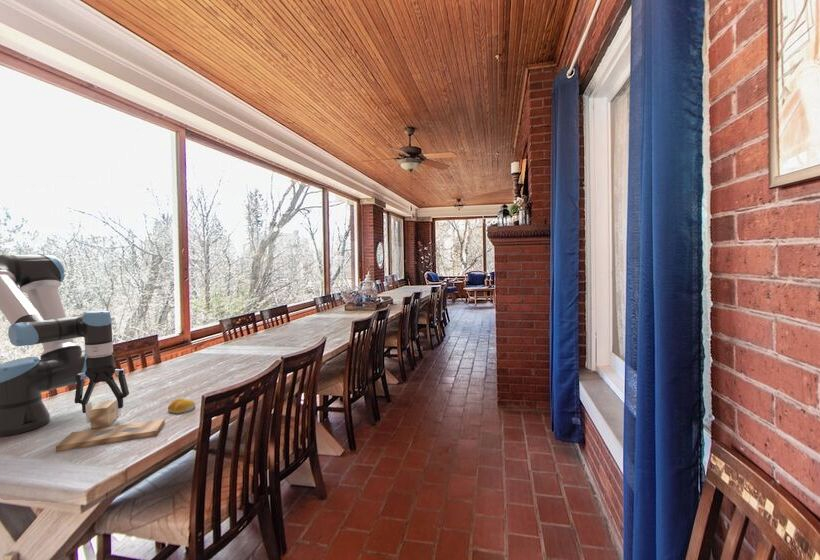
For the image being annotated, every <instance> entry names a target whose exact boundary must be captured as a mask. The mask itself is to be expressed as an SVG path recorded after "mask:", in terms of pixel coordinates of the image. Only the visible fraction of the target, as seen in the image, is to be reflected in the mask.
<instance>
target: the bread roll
mask: <svg viewBox="0 0 820 560" xmlns="http://www.w3.org/2000/svg"><path fill="white" fill-rule="evenodd" d="M195 407H196V402H194V400H192V399H185V398H177V399H175V400H173V401H171V403H169V405H168V407H167V410H168V412H170V413H174V414H183V412H184V413H187V411H188V412H190V411H192V410H194V409H195Z"/></svg>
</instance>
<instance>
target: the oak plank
mask: <svg viewBox="0 0 820 560" xmlns="http://www.w3.org/2000/svg"><path fill="white" fill-rule="evenodd" d="M165 421H166V420H165V418H162V419H152V420H146V421H142V422H132V423H127V424H121V425H113V426H112V425H111V426H110V427H105V428H98V429H91V428H90V429H86V430H78V431H73V432H70V433H69V434H68V435H67V436H66V437H65V438H63V440H61V441H60V442H59V443H58V444H57V445H55V449H56V450H55V451H56V452H60V451H65V450H71V449H78V448H84V447H89V446H97V445H102V444H109V443H116V442H121V441H129V440H134V439H141V438H146V437H147V438H148V437H153V436H158V435H159V434H160V431H161V430H162V428H163V426H164V425H165V423H166V422H165Z"/></svg>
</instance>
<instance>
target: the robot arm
mask: <svg viewBox="0 0 820 560" xmlns="http://www.w3.org/2000/svg"><path fill="white" fill-rule="evenodd" d="M65 276H66V274H65V268H64V265H63V263H62V261H61V260H60V258H58V256H54V255H51V254H43V253H42V254H40V253H38V254H0V312H1V313H2V315H4V317H5V319H6V320H7V321H8V322H9V324H10V326H9V328H8V331H7V335H8V339H9V342H10V343H11V345H12V346H14V347H23V346H24V347H26V346H34V345H40V344H42V348H43V352H42V353H41V354H40V355H39V356H40V357H38V356H28V357H21V358H15V359H13V360H9V361H6V362H3V363H0V437H1V438H2V437H8V436H9V437H10V436H15V435H19V434H23V433H26V432H30V431H33V430H36V429H39V428H41V427H43V426H45V425H47V424H48V423H50V422H51V415H50V413H49V410H48V408H47V407H46V405H45V404H44V402H43V397H42V393H44V392H47V391H52V390H55V389H59V388H64V387H68V386H74V385H76V386H75V395H74V404H80V405H81V409H82V413H83V414H85V418H86V419H85V420H86V424H90V412H89V410H90V409H91V408H92V407H93V406H92V401H90V399H91V396H92V394H93V392H94V389H95V386H96V384H98V383H100V382H101V383H104V382H105V384H107V385H108V386H109V388H110V390H111V391H112V393H113V395H114V397H115V398H116V399H114V400H115V401H114V402H115V417H116V420H118V419H119V418H120V417H121V416H122V412H121V411H122V410H121V409H123V408H124V398H127V397H128V396H129V395H130V391H129V386H128V382H127V378H126V375H125V374H126V369H125V368H120V369H119V368H116V367H115V360H114V359H115V358H114V354H113V353H114V344H113V343H114V341H113V329H112V325H113V324H112V322H113V319H112V316H111V312H110V311H109V310H106V309H105V310H100V309H99V310H98V309H97V310H90V311H85V312H83V314H77V315H71V316H68V317H67V316H66V313H65V310H64V307H63V304H62V303H63V302H62V299H61V297H60V293H59V287H60V286H61V285H62V283H63V281H64V279H65ZM26 294H27V296H26ZM75 338H83V339H84V350H82V347H81V345H79V344H76V343H75V342H74V339H75ZM115 374H116V376H118V377H117V378H118V379H117V380H118V383H119V385H120V388H119V386H118V384H117V383H116V381H115V378H114V377H113V375H115ZM88 379H89V382H88V384H87V387H86V391H85V393H84V386H85V385H84V384H85V381H86V380H88Z"/></svg>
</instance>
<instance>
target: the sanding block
mask: <svg viewBox="0 0 820 560" xmlns="http://www.w3.org/2000/svg"><path fill="white" fill-rule="evenodd" d="M115 400H116V399H112V400H103V401H99V402H97V403H96V404H94V405H93V406H92V408H91V409H90V410H89V412H90V423H89V424H90V430H91V429H98V428H105V427H112V424H114V423H115V421H117V419H116V417H115V402H114V401H115Z"/></svg>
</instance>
